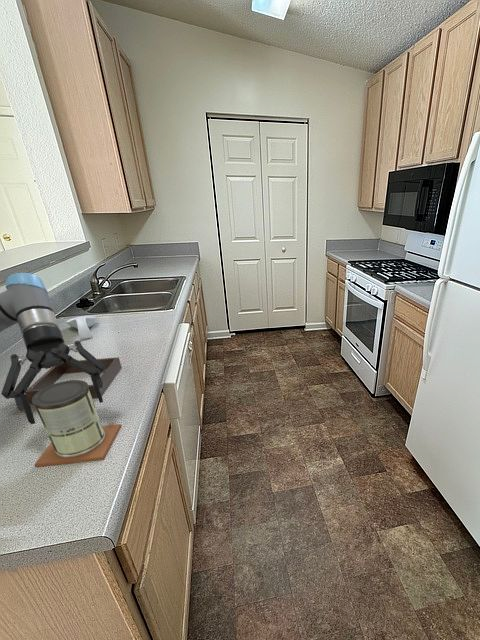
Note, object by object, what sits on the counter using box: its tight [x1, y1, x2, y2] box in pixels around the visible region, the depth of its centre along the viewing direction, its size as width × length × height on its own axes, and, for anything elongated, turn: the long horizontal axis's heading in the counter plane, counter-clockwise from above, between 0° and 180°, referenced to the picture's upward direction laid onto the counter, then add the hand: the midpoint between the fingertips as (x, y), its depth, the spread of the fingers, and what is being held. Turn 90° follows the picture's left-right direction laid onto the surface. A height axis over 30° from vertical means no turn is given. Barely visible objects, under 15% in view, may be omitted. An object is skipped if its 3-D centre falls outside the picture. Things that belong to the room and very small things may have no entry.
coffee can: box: [32, 379, 105, 457], centre depth 75 cm, size 10×10×14 cm
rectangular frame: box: [24, 356, 123, 405], centre depth 103 cm, size 19×19×4 cm
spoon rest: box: [66, 314, 98, 340], centre depth 144 cm, size 24×12×7 cm, turn 34°
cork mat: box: [33, 423, 122, 468], centre depth 78 cm, size 14×12×1 cm
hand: (68, 411), depth 76 cm, fingers open, 13 cm apart
